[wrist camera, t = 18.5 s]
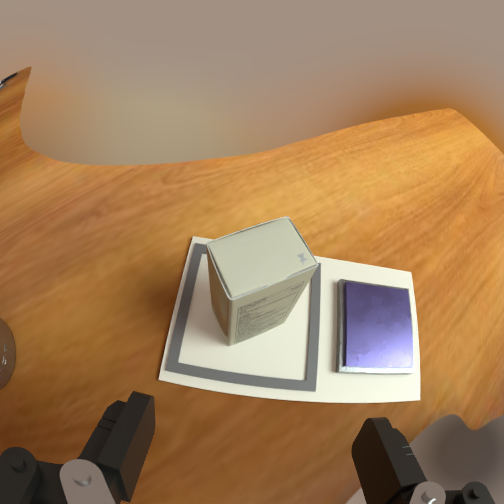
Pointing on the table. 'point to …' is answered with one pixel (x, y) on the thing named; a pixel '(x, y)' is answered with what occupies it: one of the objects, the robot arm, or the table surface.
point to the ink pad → (374, 329)
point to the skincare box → (257, 277)
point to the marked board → (280, 342)
